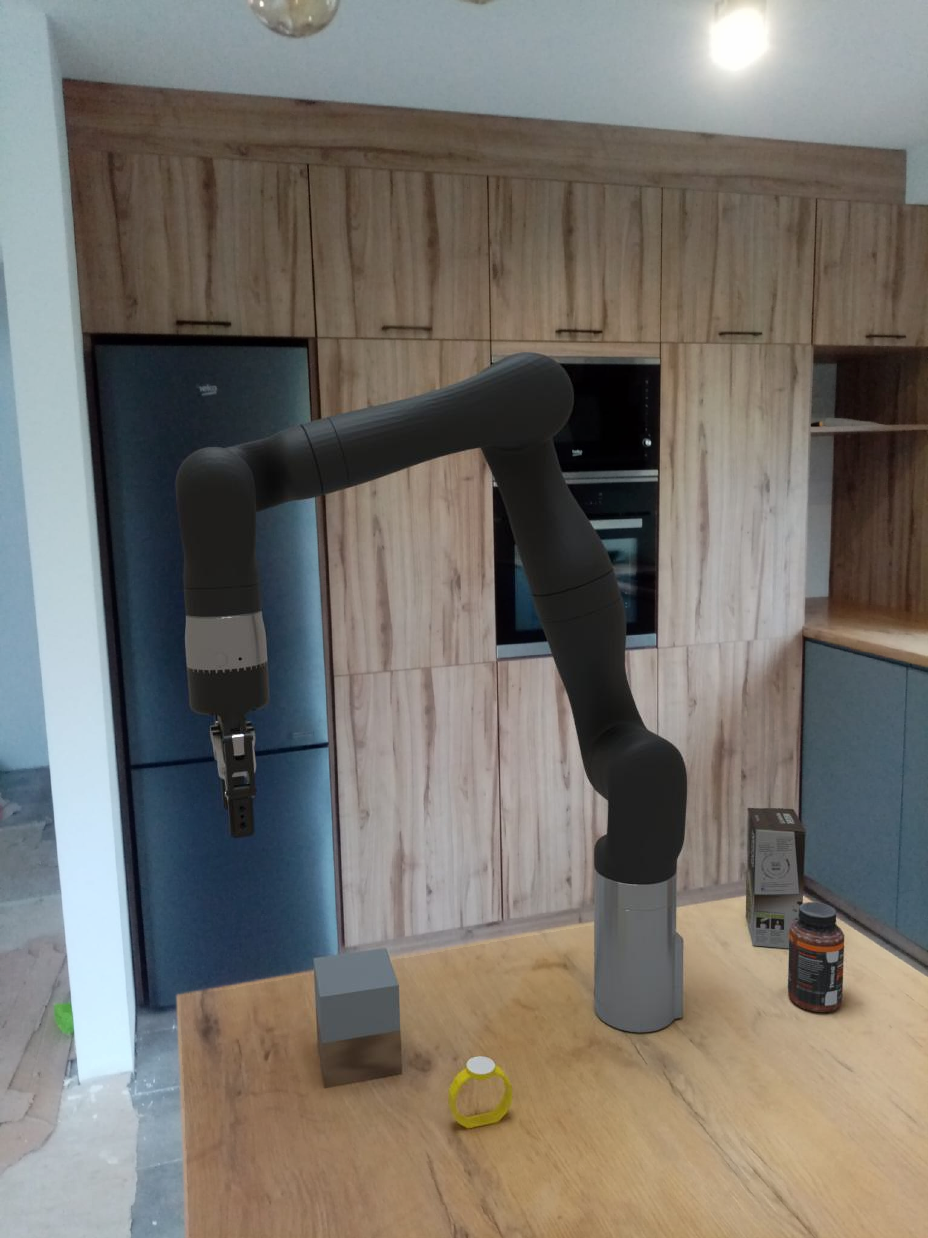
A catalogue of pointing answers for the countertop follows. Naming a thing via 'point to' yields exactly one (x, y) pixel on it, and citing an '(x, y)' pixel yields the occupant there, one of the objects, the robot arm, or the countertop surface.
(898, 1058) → the countertop surface
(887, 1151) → the countertop surface
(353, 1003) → the grey block
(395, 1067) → the walnut block
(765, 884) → the coffee box
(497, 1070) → the watch
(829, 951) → the supplement bottle
